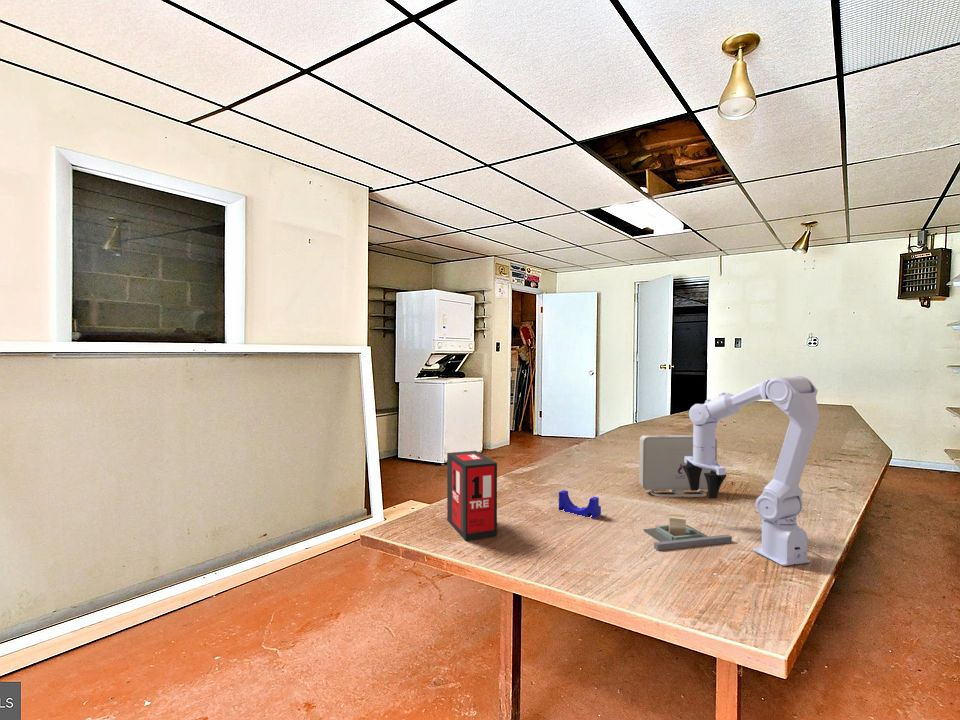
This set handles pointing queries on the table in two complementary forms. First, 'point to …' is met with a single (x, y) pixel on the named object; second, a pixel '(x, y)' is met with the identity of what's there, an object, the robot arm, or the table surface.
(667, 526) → the keeper cradle
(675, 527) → the block
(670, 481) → the network device
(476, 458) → the cleaning product box
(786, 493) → the robot arm
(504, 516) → the table surface
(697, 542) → the rail
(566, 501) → the blue notched block
